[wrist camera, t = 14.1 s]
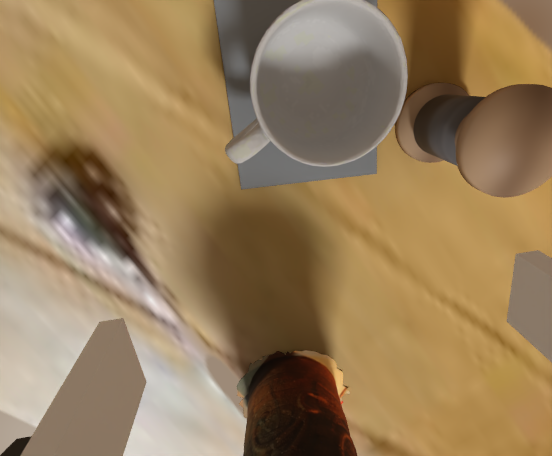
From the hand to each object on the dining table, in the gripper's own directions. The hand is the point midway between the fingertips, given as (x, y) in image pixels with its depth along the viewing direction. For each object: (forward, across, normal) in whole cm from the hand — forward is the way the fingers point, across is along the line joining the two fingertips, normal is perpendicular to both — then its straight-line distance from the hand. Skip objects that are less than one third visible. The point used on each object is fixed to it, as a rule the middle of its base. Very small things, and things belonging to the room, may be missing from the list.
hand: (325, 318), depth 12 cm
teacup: (+24, +3, +6) cm, 24 cm away
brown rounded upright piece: (+24, +15, +2) cm, 28 cm away
